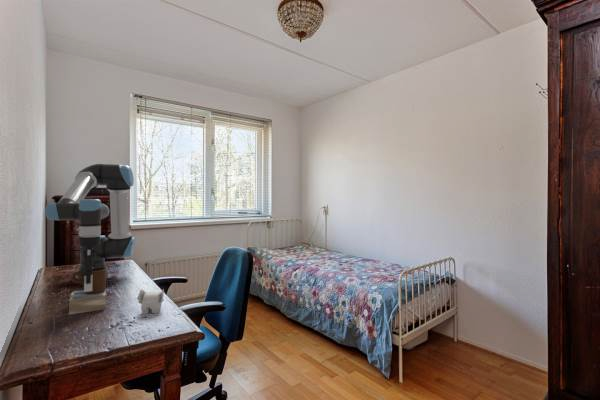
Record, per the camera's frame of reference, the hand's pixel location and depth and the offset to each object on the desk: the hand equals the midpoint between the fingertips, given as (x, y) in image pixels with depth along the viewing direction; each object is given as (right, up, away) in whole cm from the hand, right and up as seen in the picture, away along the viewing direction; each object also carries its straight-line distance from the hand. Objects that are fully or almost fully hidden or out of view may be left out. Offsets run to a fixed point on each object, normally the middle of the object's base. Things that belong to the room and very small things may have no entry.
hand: (88, 287), depth 126 cm
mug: (0, -3, 0) cm, 3 cm away
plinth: (0, -8, 0) cm, 8 cm away
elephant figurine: (+28, -9, -2) cm, 29 cm away
